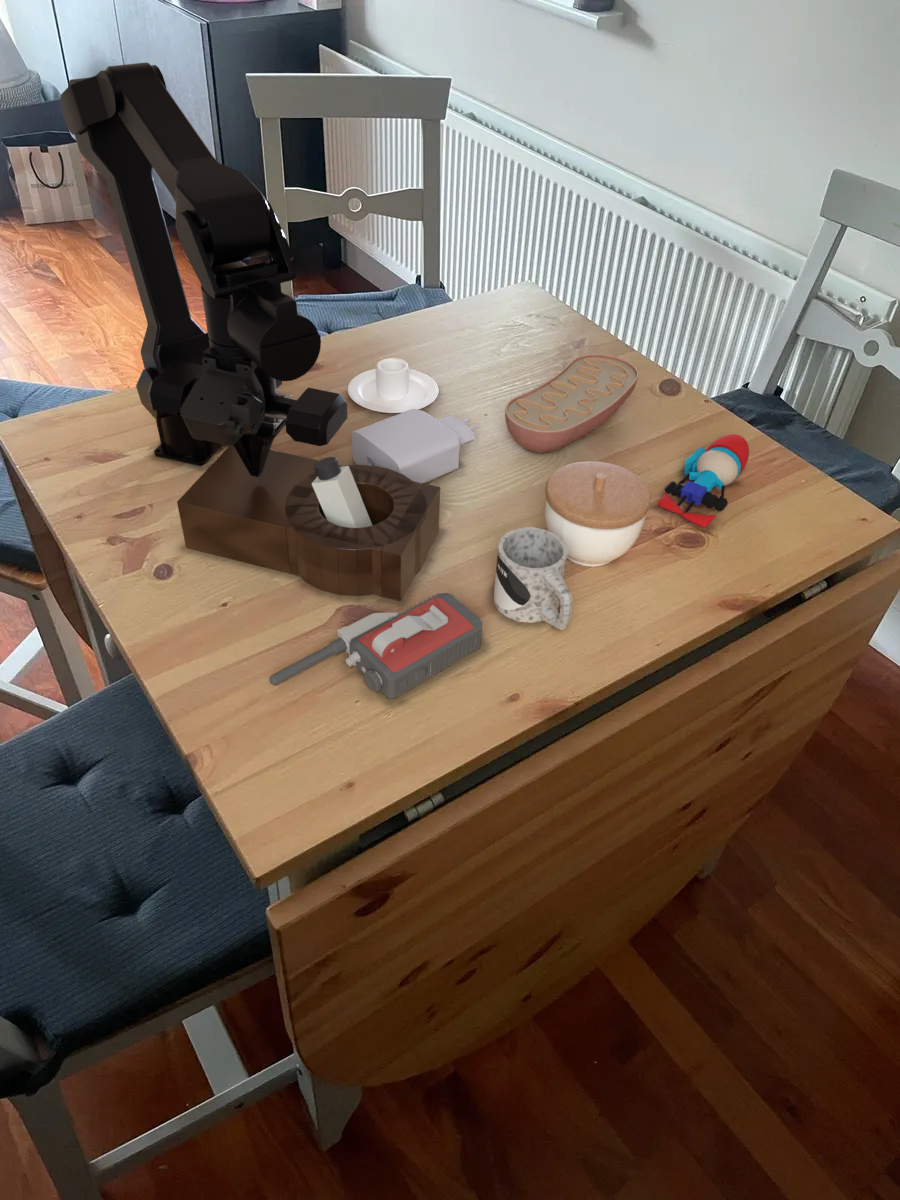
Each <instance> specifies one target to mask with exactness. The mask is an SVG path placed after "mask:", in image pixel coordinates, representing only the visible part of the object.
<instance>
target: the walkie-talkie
mask: <svg viewBox="0 0 900 1200" xmlns="http://www.w3.org/2000/svg"><path fill="white" fill-rule="evenodd" d="M482 630H483V621H482V620H481V618H480V617H479V616H478V615H477V614H475V612H473V611H472V610H471V609H469V608H468V607H467V606H466V605H464V604H463V603H462V602H461V601H460V600H459V599H457V598H456V597H455V596H454V595H453V594H451V593H449V592H442V593H441V592H440V593H436V594H435V595H432V596H431V597H428V598H427V599H425V600H423V601H422V602H419V603H418V604H415V605H414V606H411V607H410V608H408V609H405V611H402V612H400V613H399V612H398V611H397V612H373V613H370V614H368V615H366V616H364V617H362V618H360V619H359V620H357V621H355V622H353V623H351V624H349V625H346V626H342V627H340V628H339V629H337V633H336V634H337V638H336V639H334V640H332V641H330V642H329V644H328V645H326V646H324V647H322V648H320V649H318V650H316V651H314V652H313V653H311V654H309V655H307V656H304V657H303V658H301V659H300V660H297V661H296V662H293V663H291V664H289V665H288V666H286V667H284V668H282V669H280V670H278V671H276V672H275V673H273V674H271V675H270V676H269V680H268V681H269V683H270V685H272V686H278V685H280V684H282V683H284V682H286V681H288V680H290V679H292V678H294V677H296V676H297V675H299V674H301V673H303V672H304V671H307V670H308V669H310V668H312V667H314V666H316V665H317V664H319V663H322V662H323V661H325V660H327V659H329V658H331V657H332V656H333V657H334V655H335V656H338V655H340V654H341V653H343V652H346V654H348V657H347V658H345V663H346V664H347V666H348V667H352V666H353V667H355V668H356V669H357V670H359V672H360V673H361V674H362V675H363V678H364V682H365V684H366V685H367V687H368V688H369V690H371V691H372V692H374V693H378V692H381V693H382V694H383V695H384V696H385V697H386V698H387V699H396V698H398V697H399V696H401V695H403V694H404V693H406V692H408V691H409V690H411V689H413V688H415V687H416V686H418V685H419V684H421V683H423V682H426V681H427V680H428V679H430V678H432V677H433V676H435V675H437V674H438V673H440V672H441V671H443V670H446V669H447V668H448V667H450V666H451V665H454V664H455V663H456V662H459V661H460V660H462V659H464V658H465V657H468V655H470V654H472V653H473V652H476V651H477V650H478V649H481V641H482V632H483V631H482Z"/></svg>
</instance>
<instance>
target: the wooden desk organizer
mask: <svg viewBox="0 0 900 1200" xmlns="http://www.w3.org/2000/svg"><path fill="white" fill-rule="evenodd" d="M318 461H320V459H314V458H309V457H305V456H302V455H296V454H292V453H287V452H282V451H278V450H273V449H270V451H269V454H268V457H267V460H266V462H265V465H264V468H263V471H262V473H261V474H260V475H259V477H256V476H251V475H250V473H249V472H248V470H247V468H246V466H245V465H244V463H243V461H242V459H241V458H240V456H239V454H238V453H237V450H236V449H235V447H234V446H233V445H231V446H227V447H226V448H225V450H224V451H223V452H222V453H221V454H220V455H219V456H218V457H217V458H216V459H215V461H214V462H213V463H211V464H210V466H209V467H208V468H207V469H206V470H205V471H204V472H203V473H202V474H201V475H200V477H199V478H198V479H196V481H195V482H194V483H192V485H191V486H190V487H189V488H188V489H187V491H185V492H184V494H182V496H181V497H180V498H179V499H178V500H177V501H176V504H177V509H178V515H179V519H180V524H181V530H182V534H183V539H184V544H185V548H186V549H189V550H193V551H198V552H202V553H205V554H209V555H213V556H217V557H220V558H226V559H230V560H234V561H237V562H241V563H245V564H249V565H252V566H253V565H254V566H256V567H257V566H258V567H260V568H265V569H269V570H273V571H278V572H281V573H285V574H290V575H293V576H297V577H299V578H301V580H303V581H304V582H305V583H306V584H308V585H310V586H312V587H314V588H316V589H318V590H320V591H323V592H327V593H331V594H335V595H339V596H348V597H349V596H352V597H353V596H354V597H363V596H372V595H374V596H377V597H382V598H386V599H388V600H392V601H397V602H401V601H402V599H403V598H404V597H405V594H406V593H407V591H408V589H409V587H410V585H411V583H412V581H413V579H414V578H415V576H416V575H417V574H418V573H419V572H420V571H421V569H422V567H423V565H424V563H425V561H426V558H427V554H428V553H429V550H430V548H431V547H432V545H433V543H434V541H435V540H436V537H437V535H438V534H439V533H440V532H439V530H440V528H439V527H440V504H441V503H440V502H441V487H440V486H436V485H432V484H428V483H419V482H414V481H412V480H411V479H410V478H408V477H407V476H405V475H403V474H401V473H398V472H396V471H394V470H391V469H388V468H383V467H378V466H373V465H357V464H346V465H345V464H344V465H342V464H339V466H340V467H343V466H349V468H350V471H351V473H352V476H353V478H354V481H355V483H356V486H357V488H358V491H359V493H360V496H361V498H362V501H363V503H364V505H365V508H366V510H367V513H368V515H369V518H370V520H371V523H372V526H368V527H361V528H348V527H343V526H339V525H336V524H334V523H331V522H329V521H328V520H327V519H326V516H325V514H324V512H323V509H322V507H321V505H320V502H319V500H318V498H317V496H316V493H315V491H314V489H313V486H312V482H313V481H314V480H315V479H316V478H317V477H318V476H317V473H316V471H315V469H314V465H315V463H317V462H318Z"/></svg>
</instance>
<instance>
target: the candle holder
mask: <svg viewBox="0 0 900 1200" xmlns="http://www.w3.org/2000/svg"><path fill="white" fill-rule="evenodd" d="M375 367H376V368H373V369H369V370H366V371H363V372H361V373H359V374H357V375H356V376H354V377H353V378H352V379H351V380H350V382H349V383H348V385H347V394H348V396H349V397H350V400H352V401H353V402H354V403H355V404H357V405H359V406H360V407H362V408H365V409H367V410H370V411H375V412H379V413H384V414H386V413H387V414H400V413H403V412H406V411H408V410H411V409H417V410H421V409H424V408H426V407H428V406H429V405H432V404H433V402H435V400H436V399H437V398H438V396H439V393H440V391H439V390H440V389H439V386H438V384H437V382H436V381H435V380H434V378H432V377H431V376H429V375H427V374H426V373H424V372H421V371H418V370H415V369H412V368H409V364H408V362H406V361H405V360H404V359H401V358H397V357H387V358H382V359H381V360H379V361H378V362H377V363H376V365H375Z"/></svg>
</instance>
